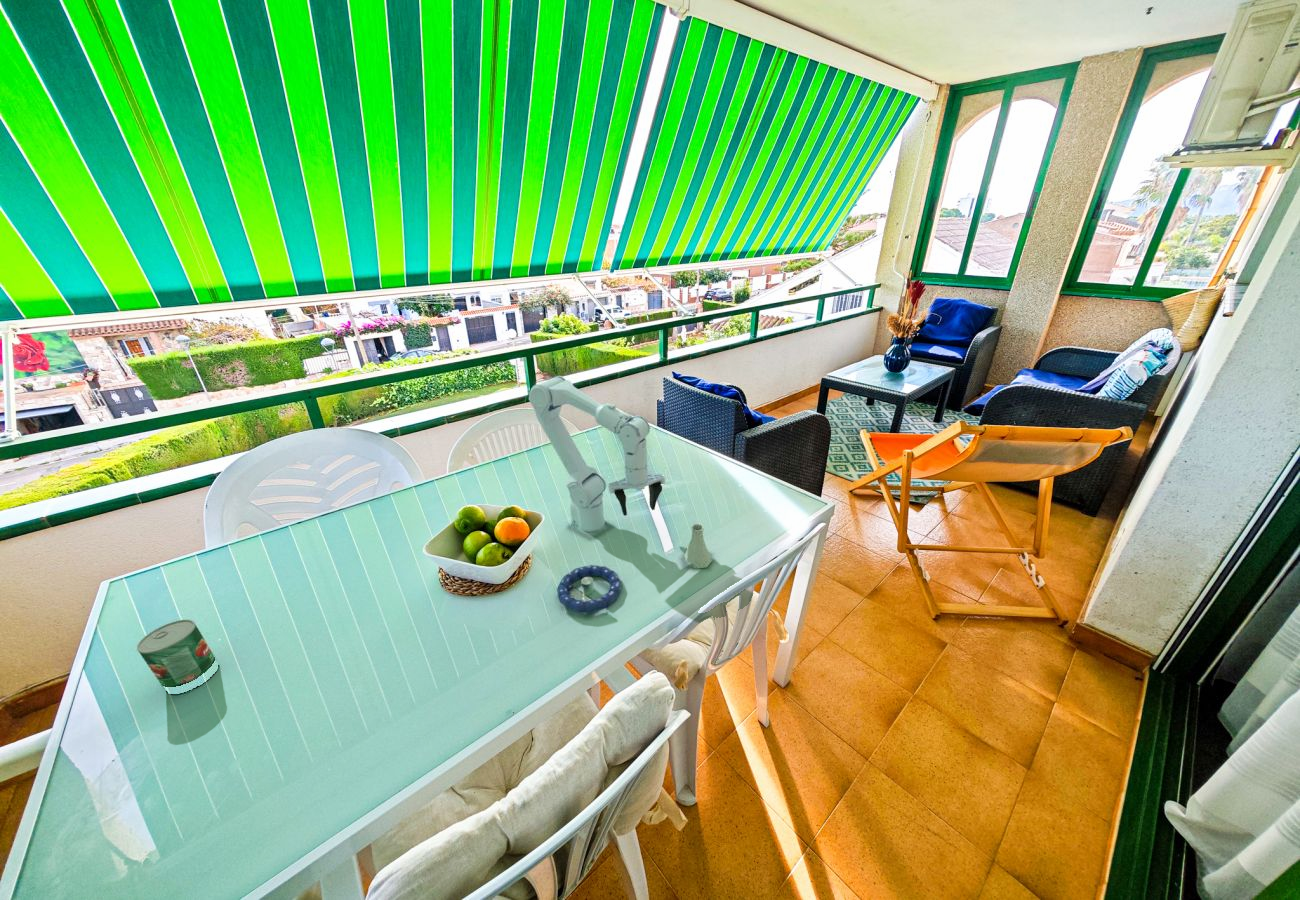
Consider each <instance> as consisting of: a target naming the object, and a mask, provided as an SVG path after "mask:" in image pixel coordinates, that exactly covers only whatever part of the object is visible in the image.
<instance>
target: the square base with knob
mask: <svg viewBox="0 0 1300 900" xmlns="http://www.w3.org/2000/svg"><path fill="white" fill-rule="evenodd" d="M594 586H595V585H594V579H593V577H592V576H586V577H582V578H581V589H582V590H580V589H578V588H576V587H575V586H574V585H570V587H569V589H568V592H569V595H570V596H571V597H573V598H574V599H576V600H582V601H590V600H594V598H592V597H590V596H589V595H592V594H593V593H594V592H595V587H594ZM584 614H585V615H586V616H587V615H589V614H590V613H584Z"/></svg>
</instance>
